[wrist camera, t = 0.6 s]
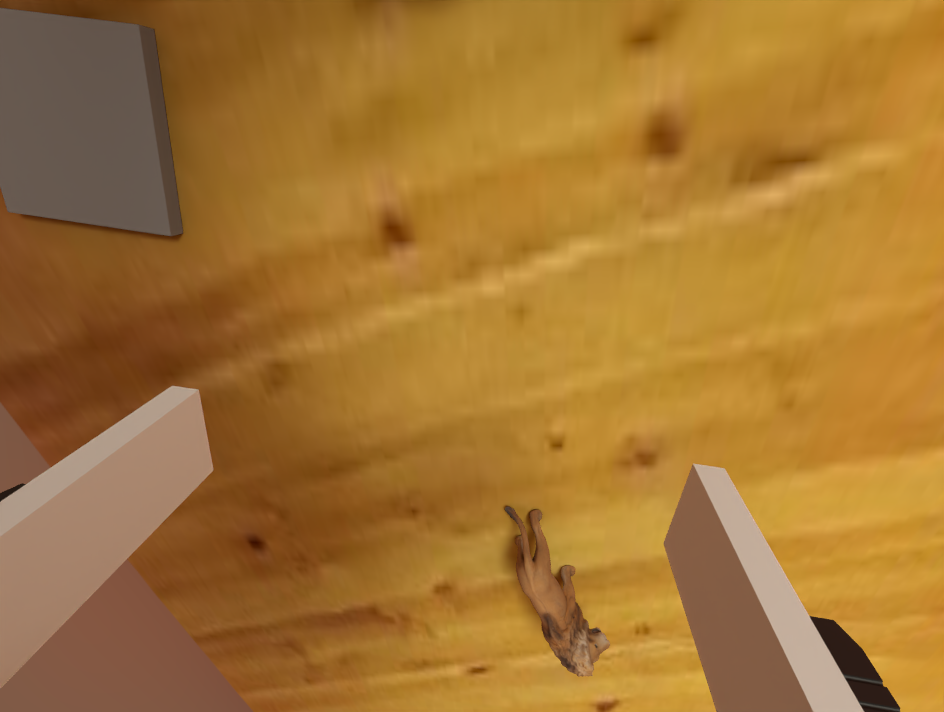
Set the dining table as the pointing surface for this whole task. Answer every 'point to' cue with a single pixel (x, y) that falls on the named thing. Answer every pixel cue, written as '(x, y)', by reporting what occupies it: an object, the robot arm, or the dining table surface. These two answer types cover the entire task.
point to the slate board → (85, 123)
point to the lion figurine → (556, 603)
